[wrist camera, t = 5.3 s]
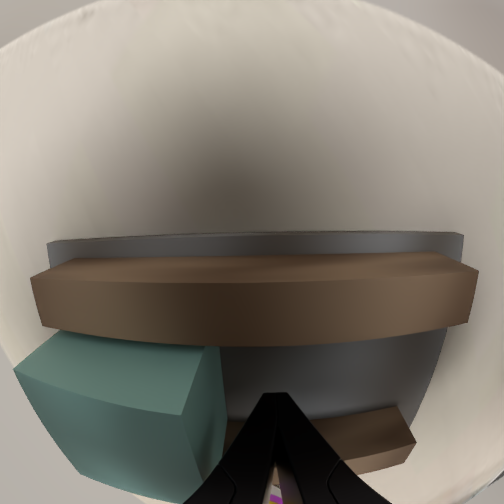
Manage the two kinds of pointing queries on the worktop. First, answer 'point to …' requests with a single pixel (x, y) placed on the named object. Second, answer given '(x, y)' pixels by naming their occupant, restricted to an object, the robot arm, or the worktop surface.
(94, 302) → the chute
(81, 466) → the block
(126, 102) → the worktop surface
